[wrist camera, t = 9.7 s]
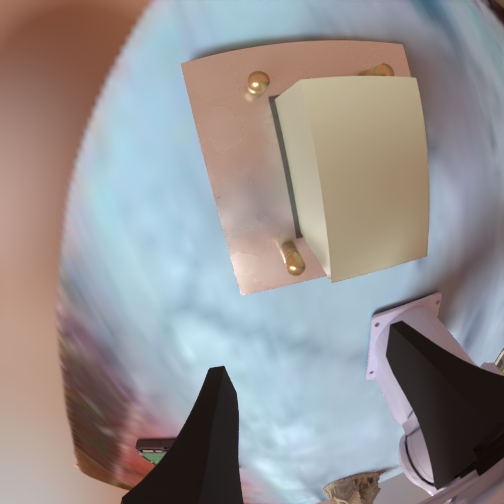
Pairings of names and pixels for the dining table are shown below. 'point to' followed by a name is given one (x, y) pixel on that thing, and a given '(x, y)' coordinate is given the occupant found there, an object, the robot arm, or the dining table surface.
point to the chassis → (267, 146)
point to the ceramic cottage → (354, 489)
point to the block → (358, 170)
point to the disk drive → (153, 449)
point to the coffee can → (500, 362)
